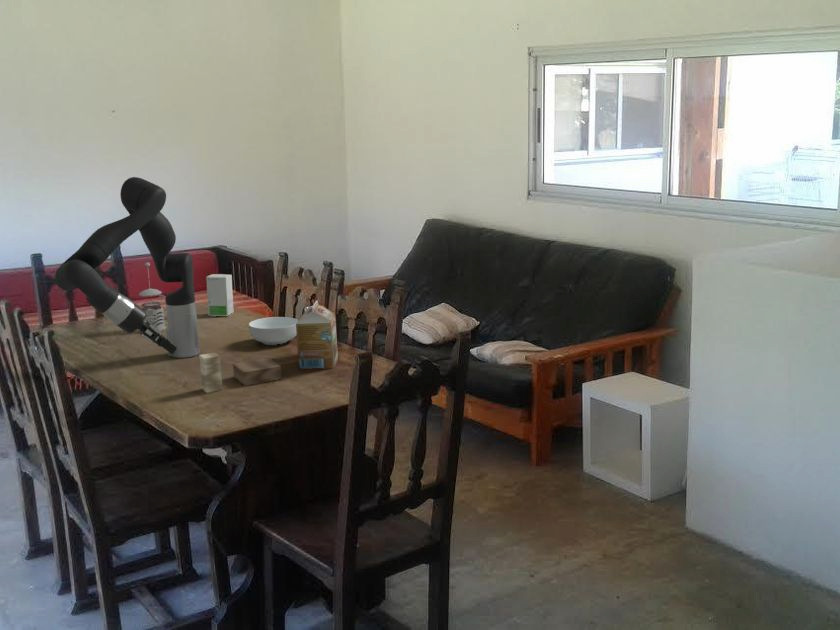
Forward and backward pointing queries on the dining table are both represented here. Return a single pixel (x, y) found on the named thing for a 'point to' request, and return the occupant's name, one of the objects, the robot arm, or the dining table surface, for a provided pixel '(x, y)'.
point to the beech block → (210, 372)
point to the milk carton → (317, 338)
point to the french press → (153, 307)
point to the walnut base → (257, 371)
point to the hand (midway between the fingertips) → (171, 347)
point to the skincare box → (219, 294)
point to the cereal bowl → (273, 330)
